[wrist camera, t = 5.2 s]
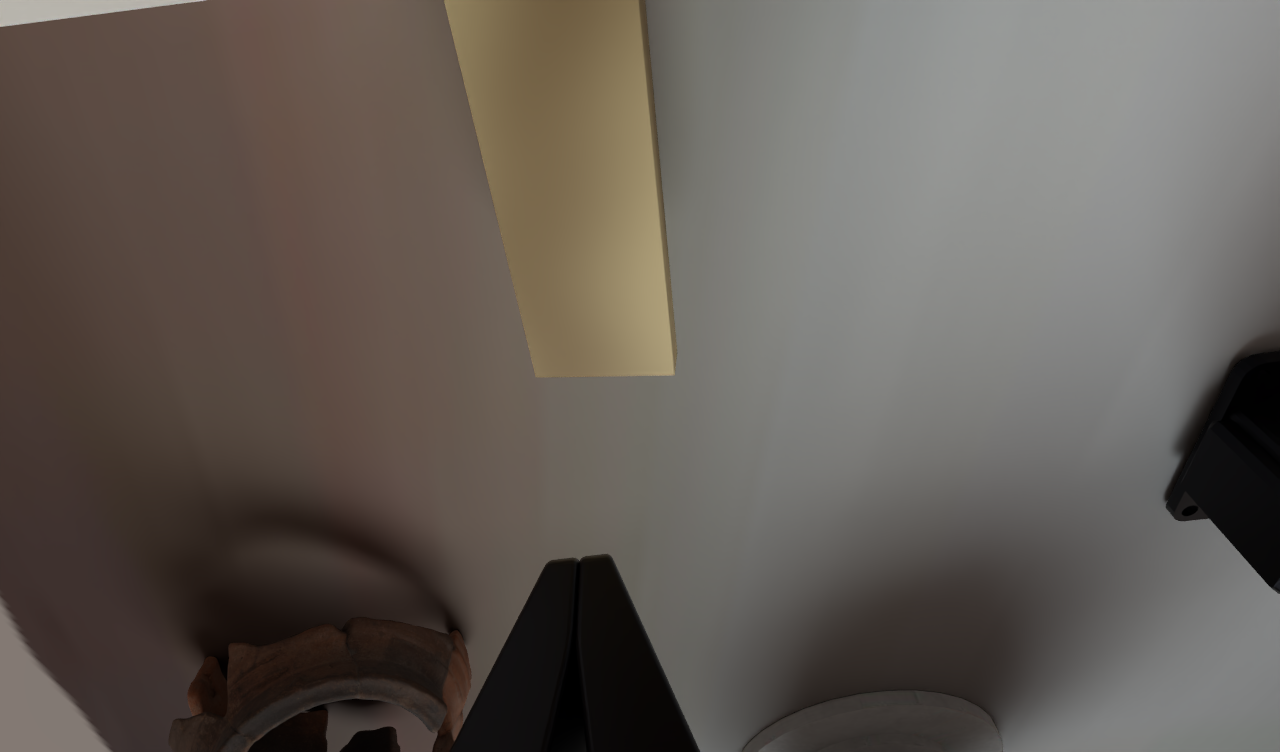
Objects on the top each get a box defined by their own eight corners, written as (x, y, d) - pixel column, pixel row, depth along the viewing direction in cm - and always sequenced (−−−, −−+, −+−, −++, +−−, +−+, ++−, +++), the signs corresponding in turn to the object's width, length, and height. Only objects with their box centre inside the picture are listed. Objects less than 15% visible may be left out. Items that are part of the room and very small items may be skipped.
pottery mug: (135, 605, 25) (78, 775, 18) (398, 489, 29) (437, 594, 21) (285, 831, 30) (287, 1038, 23) (498, 709, 33) (559, 858, 26)
